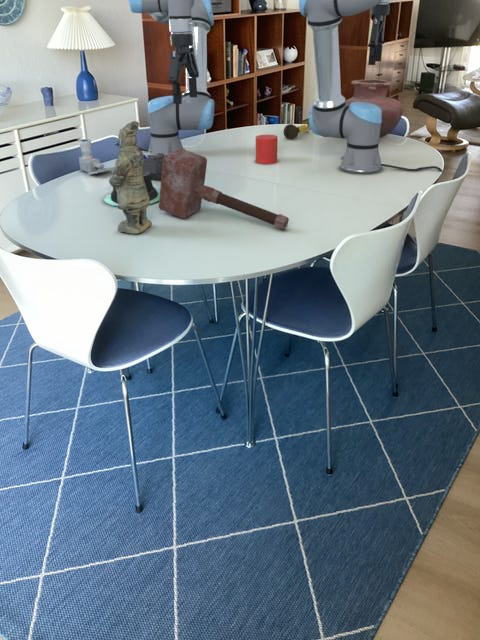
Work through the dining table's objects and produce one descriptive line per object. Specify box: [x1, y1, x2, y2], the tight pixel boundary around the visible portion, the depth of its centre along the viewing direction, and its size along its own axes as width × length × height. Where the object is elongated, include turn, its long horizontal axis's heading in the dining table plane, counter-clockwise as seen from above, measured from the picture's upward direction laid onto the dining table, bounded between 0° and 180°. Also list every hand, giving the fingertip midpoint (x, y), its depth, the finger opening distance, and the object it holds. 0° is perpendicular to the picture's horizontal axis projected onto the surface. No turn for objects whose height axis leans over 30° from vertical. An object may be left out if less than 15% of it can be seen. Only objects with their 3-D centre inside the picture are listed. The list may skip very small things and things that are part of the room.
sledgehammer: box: [158, 149, 290, 231], centre depth 163 cm, size 17×10×40 cm
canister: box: [255, 134, 278, 165], centre depth 222 cm, size 9×9×10 cm
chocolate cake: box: [103, 169, 160, 207], centre depth 186 cm, size 15×19×20 cm
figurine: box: [282, 120, 312, 140], centre depth 263 cm, size 13×8×25 cm
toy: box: [142, 151, 165, 181], centre depth 205 cm, size 9×9×15 cm
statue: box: [108, 120, 153, 235], centre depth 154 cm, size 11×9×30 cm
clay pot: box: [345, 78, 404, 139], centre depth 247 cm, size 30×30×25 cm
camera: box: [78, 138, 115, 176], centre depth 211 cm, size 9×12×15 cm
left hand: (185, 100), depth 197 cm, fingers open, 13 cm apart
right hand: (374, 63), depth 229 cm, fingers open, 13 cm apart
